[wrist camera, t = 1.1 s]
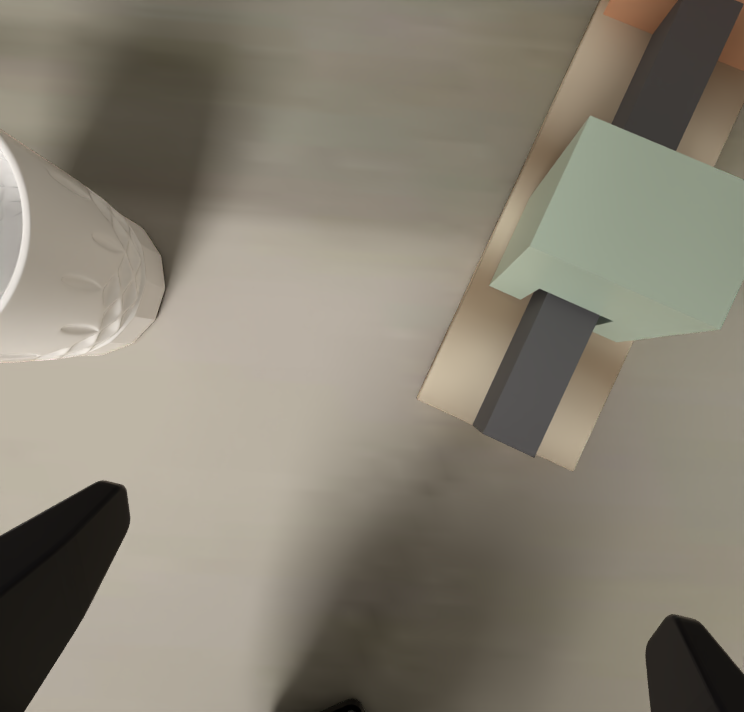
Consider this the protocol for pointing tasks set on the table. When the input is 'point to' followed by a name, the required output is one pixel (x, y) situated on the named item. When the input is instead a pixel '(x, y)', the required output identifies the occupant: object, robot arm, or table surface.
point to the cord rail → (560, 317)
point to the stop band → (652, 4)
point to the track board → (480, 301)
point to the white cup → (68, 265)
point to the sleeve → (631, 236)
